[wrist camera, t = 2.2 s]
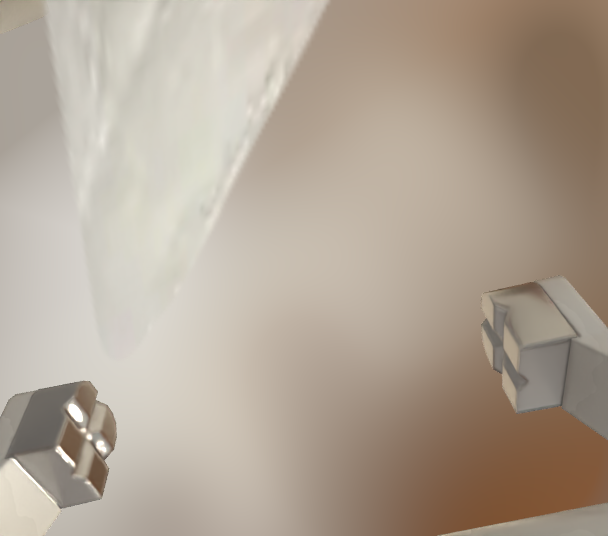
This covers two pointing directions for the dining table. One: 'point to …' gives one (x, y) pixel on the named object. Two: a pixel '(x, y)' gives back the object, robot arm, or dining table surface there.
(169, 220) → the dining table surface
